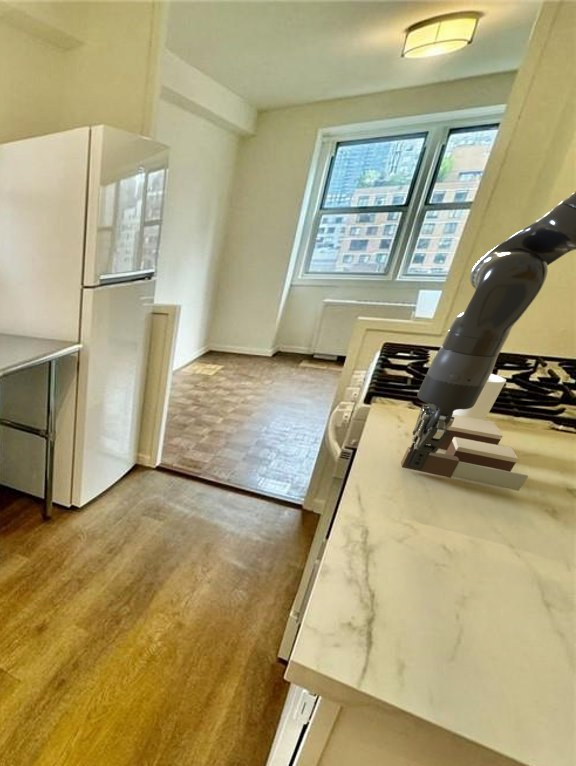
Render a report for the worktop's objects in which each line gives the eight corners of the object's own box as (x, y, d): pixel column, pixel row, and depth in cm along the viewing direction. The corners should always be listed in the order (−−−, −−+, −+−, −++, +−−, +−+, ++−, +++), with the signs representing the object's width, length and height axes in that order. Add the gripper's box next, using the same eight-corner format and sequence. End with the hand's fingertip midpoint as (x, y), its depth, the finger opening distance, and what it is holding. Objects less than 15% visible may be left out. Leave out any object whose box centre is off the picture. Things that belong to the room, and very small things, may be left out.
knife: (517, 487, 84) (527, 470, 82) (520, 493, 82) (531, 475, 81) (400, 463, 92) (408, 446, 90) (401, 467, 90) (409, 451, 89)
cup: (418, 403, 120) (436, 364, 115) (484, 417, 112) (506, 375, 107) (413, 412, 114) (432, 372, 110) (482, 427, 107) (505, 385, 102)
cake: (481, 443, 101) (493, 421, 98) (489, 458, 95) (502, 435, 92) (432, 433, 105) (442, 412, 102) (437, 448, 99) (448, 425, 96)
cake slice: (497, 471, 91) (511, 447, 88) (503, 482, 87) (518, 458, 85) (442, 459, 95) (453, 436, 92) (445, 470, 91) (458, 446, 89)
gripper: (495, 393, 75) (444, 487, 83) (478, 369, 85) (433, 455, 93) (433, 383, 78) (389, 474, 87) (423, 361, 89) (385, 445, 97)
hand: (412, 464), depth 90 cm, fingers closed on knife, 2 cm apart
